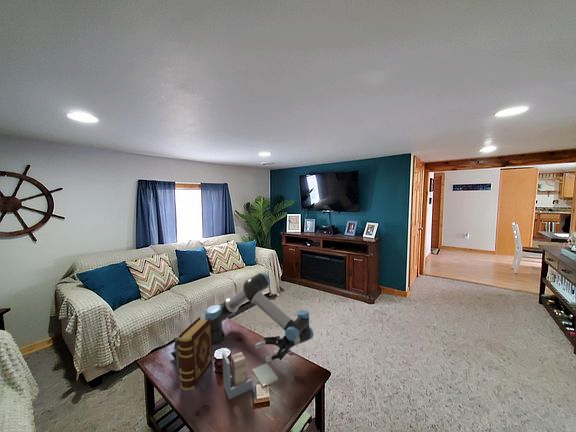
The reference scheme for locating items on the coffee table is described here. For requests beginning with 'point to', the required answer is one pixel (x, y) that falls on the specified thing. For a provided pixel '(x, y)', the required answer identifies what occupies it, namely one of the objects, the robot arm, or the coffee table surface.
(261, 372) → the sage tile
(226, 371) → the slot rack
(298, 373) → the coffee table surface
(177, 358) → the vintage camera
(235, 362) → the block
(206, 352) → the decorative book
